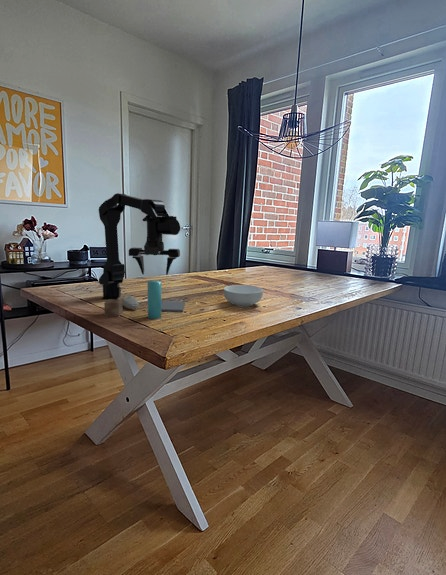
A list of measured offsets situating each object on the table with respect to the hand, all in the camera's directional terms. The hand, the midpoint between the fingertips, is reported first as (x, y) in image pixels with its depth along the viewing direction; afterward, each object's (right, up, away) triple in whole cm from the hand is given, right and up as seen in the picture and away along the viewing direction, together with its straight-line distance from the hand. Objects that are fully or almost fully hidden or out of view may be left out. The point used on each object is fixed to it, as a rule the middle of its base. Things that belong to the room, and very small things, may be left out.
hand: (155, 274), depth 128 cm
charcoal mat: (+4, -13, +5) cm, 14 cm away
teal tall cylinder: (+2, -16, -9) cm, 18 cm away
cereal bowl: (+35, -13, +14) cm, 40 cm away
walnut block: (-13, -15, -8) cm, 21 cm away
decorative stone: (-11, -13, +4) cm, 17 cm away
